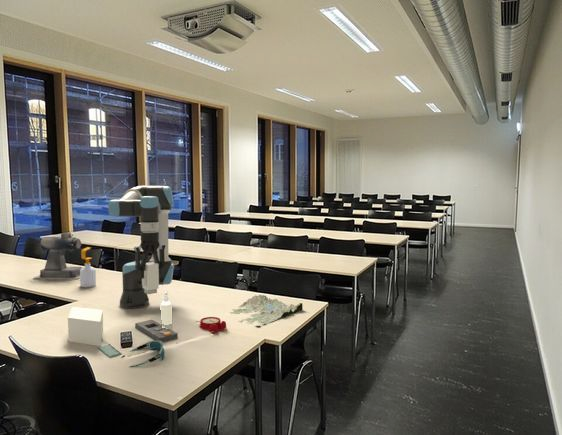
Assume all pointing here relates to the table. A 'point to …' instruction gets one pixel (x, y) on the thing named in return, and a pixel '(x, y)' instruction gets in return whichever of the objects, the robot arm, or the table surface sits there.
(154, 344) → the sunglasses
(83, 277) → the soap bottle
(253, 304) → the topographic map model
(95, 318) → the white rectangular block
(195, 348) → the table surface
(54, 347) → the table surface
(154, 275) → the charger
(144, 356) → the table surface
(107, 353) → the felt mat
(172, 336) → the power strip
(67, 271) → the grinder
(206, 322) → the alarm clock
